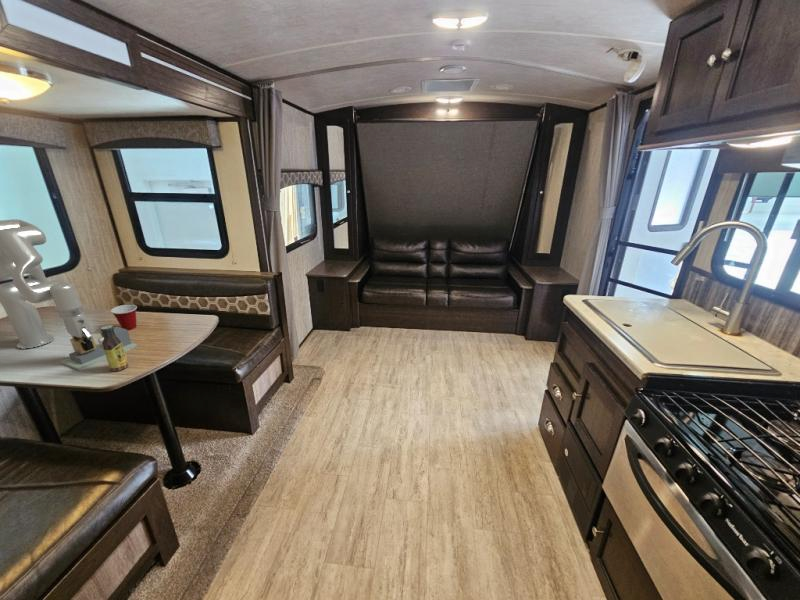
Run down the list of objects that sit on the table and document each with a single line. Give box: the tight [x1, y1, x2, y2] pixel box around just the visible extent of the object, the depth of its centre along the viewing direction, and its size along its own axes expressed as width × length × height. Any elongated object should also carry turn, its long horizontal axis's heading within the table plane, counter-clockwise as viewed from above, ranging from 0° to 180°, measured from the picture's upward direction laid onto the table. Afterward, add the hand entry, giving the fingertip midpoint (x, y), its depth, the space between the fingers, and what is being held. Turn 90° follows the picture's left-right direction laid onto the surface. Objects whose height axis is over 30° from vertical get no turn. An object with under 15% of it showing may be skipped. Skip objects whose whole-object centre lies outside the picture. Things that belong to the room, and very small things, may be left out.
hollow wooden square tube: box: [69, 334, 98, 354], centre depth 145 cm, size 6×6×6 cm
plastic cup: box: [110, 304, 138, 331], centre depth 175 cm, size 11×11×12 cm
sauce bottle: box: [100, 325, 129, 372], centre depth 139 cm, size 6×6×20 cm
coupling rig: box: [60, 326, 138, 372], centre depth 151 cm, size 14×23×9 cm, turn 157°
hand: (85, 347), depth 146 cm, fingers open, 5 cm apart
